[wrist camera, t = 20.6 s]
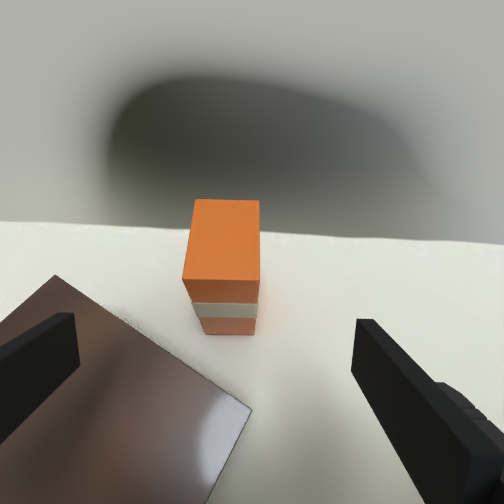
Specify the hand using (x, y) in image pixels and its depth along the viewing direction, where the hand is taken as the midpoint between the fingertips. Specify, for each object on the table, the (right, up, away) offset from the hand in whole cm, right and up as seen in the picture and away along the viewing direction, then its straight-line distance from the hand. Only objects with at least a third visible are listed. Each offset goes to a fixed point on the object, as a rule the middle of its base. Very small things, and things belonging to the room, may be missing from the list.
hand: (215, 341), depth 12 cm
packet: (-1, -1, +17) cm, 17 cm away
